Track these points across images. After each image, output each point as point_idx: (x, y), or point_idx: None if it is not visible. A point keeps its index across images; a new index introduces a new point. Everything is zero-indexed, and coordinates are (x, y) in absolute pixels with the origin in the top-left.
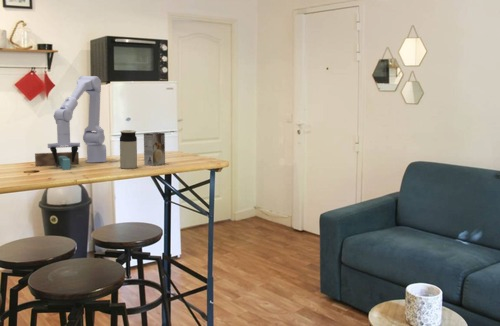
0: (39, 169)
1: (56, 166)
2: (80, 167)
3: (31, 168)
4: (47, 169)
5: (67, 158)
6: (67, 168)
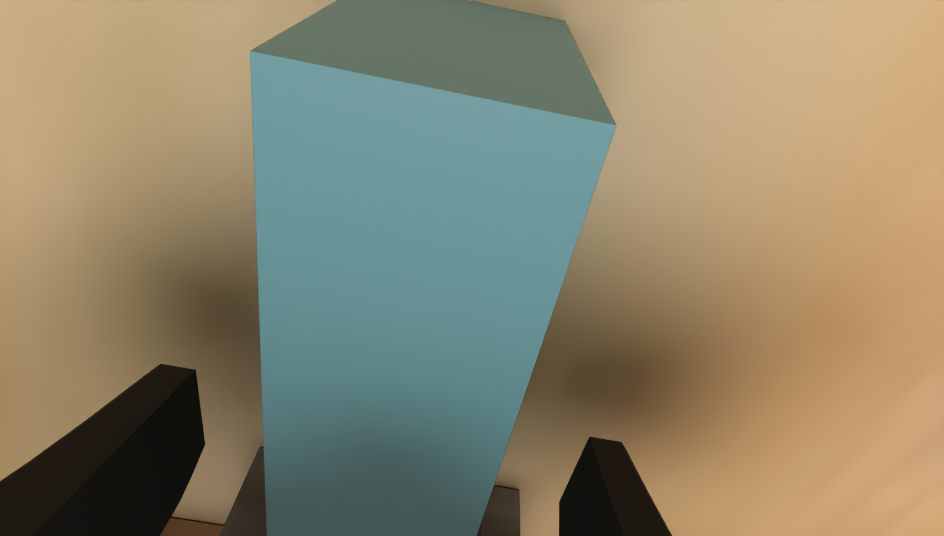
0: (936, 386)
1: (507, 489)
2: (75, 202)
3: (939, 519)
4: (823, 314)
5: (310, 410)
6: (456, 4)
